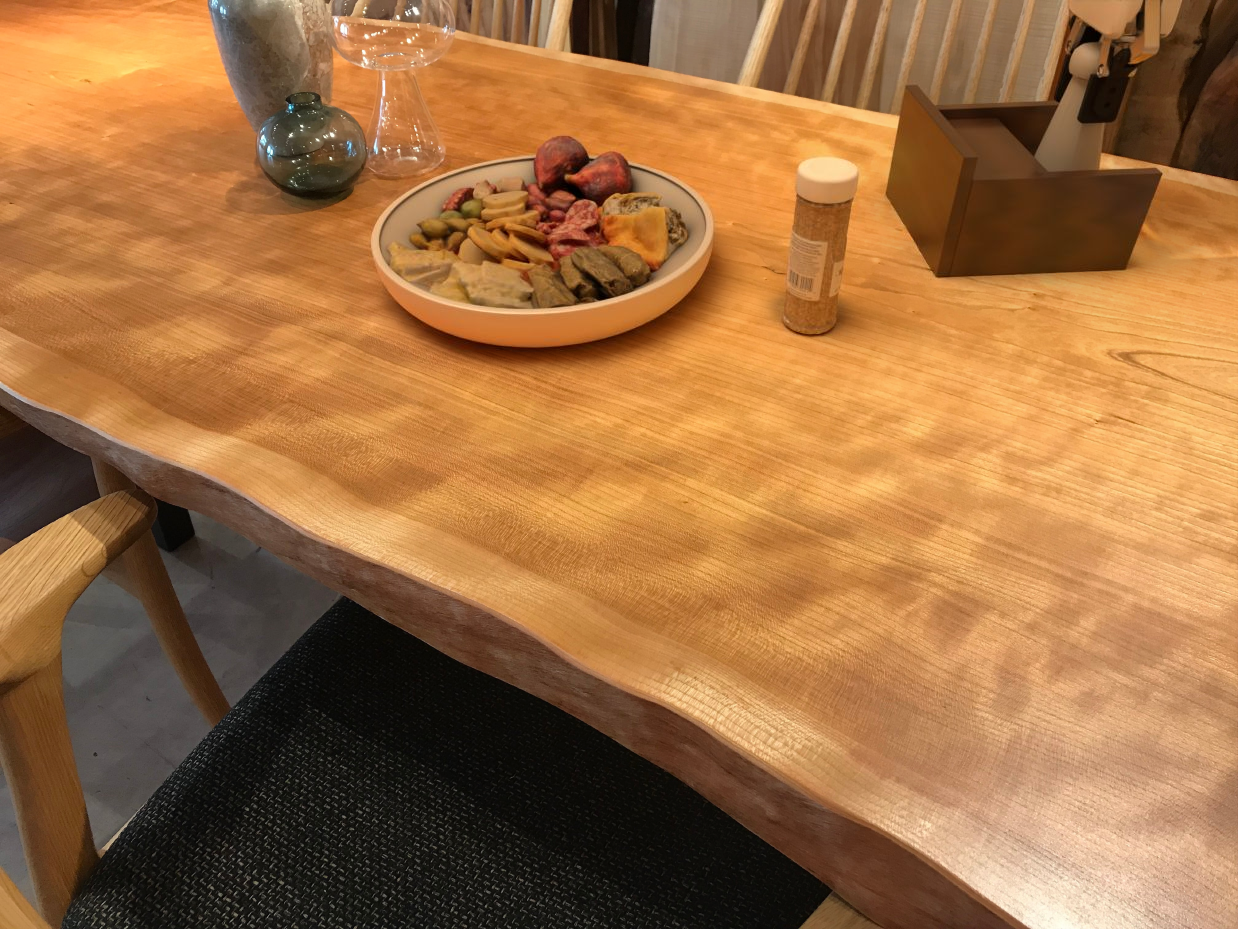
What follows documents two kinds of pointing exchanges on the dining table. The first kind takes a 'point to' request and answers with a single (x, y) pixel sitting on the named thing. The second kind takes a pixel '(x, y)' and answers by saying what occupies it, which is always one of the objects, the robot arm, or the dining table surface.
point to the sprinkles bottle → (818, 243)
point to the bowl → (544, 247)
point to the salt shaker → (1074, 120)
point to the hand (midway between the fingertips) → (1083, 108)
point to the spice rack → (1007, 193)
